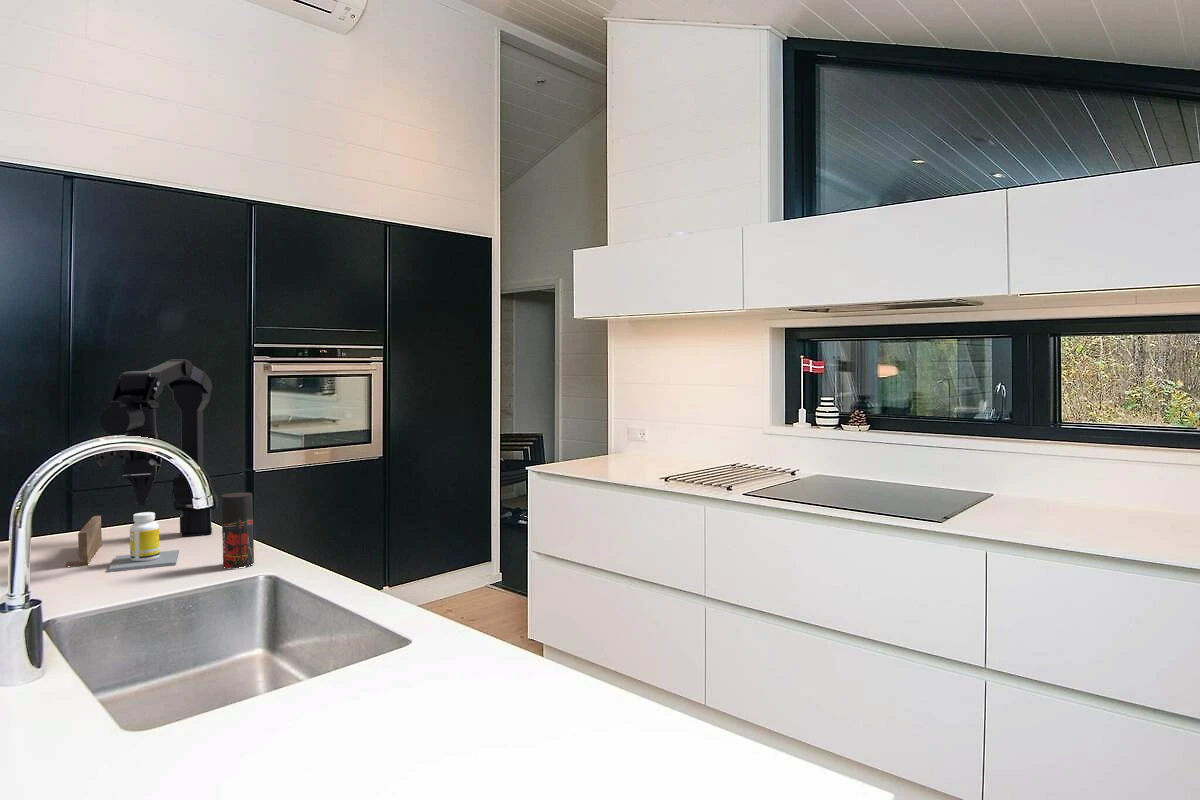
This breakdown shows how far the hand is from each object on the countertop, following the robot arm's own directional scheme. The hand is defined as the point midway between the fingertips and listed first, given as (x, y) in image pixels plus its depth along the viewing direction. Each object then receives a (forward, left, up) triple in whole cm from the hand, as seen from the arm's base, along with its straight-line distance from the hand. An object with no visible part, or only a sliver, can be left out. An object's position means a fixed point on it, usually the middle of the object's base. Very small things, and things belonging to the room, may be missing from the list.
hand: (143, 501), depth 165 cm
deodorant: (-18, +14, -13) cm, 26 cm away
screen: (+13, -10, -13) cm, 21 cm away
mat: (0, +2, -13) cm, 13 cm away
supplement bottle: (0, +2, -12) cm, 12 cm away
